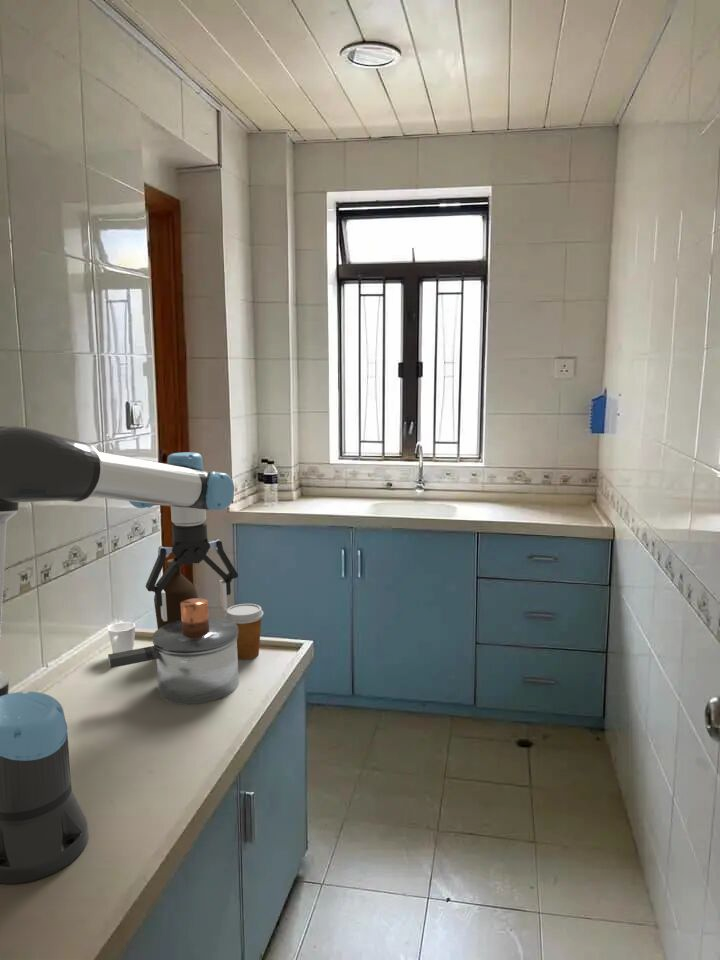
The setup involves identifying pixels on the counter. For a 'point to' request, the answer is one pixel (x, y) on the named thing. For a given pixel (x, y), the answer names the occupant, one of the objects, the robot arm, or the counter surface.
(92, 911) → the counter surface
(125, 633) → the cup
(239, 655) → the disposable coffee cup
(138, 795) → the counter surface
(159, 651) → the cooker body
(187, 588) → the olive oil
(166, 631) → the cooker lid
